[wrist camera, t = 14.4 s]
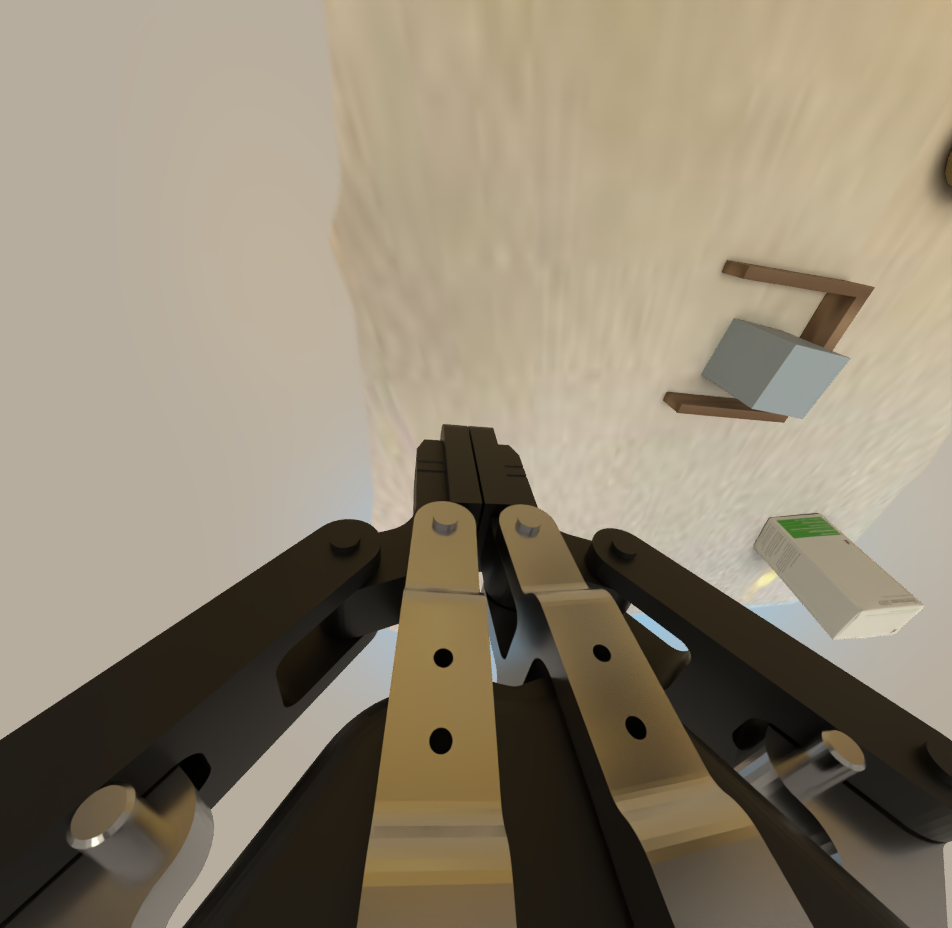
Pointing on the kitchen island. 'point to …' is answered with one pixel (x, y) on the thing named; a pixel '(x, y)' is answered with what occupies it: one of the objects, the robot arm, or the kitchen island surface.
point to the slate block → (772, 369)
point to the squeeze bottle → (949, 170)
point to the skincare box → (835, 578)
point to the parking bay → (820, 330)
